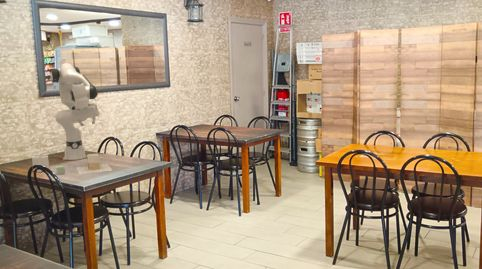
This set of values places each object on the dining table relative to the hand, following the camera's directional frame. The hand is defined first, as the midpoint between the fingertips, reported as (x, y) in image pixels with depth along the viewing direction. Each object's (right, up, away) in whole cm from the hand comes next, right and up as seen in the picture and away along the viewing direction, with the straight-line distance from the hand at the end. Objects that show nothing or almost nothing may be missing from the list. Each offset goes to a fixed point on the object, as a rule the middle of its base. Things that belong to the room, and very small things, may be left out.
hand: (88, 124), depth 331 cm
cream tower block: (+2, -26, +4) cm, 26 cm away
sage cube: (-18, -34, -4) cm, 38 cm away
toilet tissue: (-36, -32, +8) cm, 49 cm away
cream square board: (+3, -31, +5) cm, 32 cm away
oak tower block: (+3, -31, +5) cm, 31 cm away
